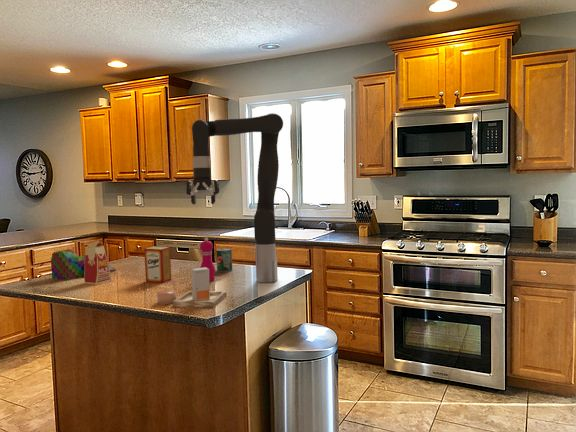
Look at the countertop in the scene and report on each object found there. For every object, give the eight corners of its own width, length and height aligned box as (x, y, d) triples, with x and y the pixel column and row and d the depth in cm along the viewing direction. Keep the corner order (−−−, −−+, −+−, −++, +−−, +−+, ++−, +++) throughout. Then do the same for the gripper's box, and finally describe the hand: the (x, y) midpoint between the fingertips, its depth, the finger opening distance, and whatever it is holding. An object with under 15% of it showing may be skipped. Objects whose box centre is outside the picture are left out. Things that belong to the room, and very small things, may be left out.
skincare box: (195, 301, 185) (194, 270, 184) (192, 299, 189) (190, 268, 188) (210, 299, 188) (209, 268, 187) (207, 296, 192) (205, 266, 191)
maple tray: (226, 296, 195) (226, 291, 195) (213, 307, 179) (213, 302, 179) (188, 295, 198) (188, 290, 198) (172, 306, 182) (172, 301, 182)
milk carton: (111, 280, 231) (109, 239, 229) (96, 285, 223) (94, 241, 221) (97, 279, 235) (95, 238, 233) (82, 283, 227) (79, 241, 225)
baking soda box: (171, 280, 229) (169, 246, 228) (163, 283, 223) (161, 248, 222) (154, 279, 233) (152, 245, 231) (146, 282, 226) (144, 247, 225)
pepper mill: (212, 282, 222) (210, 238, 221) (197, 281, 224) (195, 238, 222) (217, 278, 230) (216, 236, 228) (203, 278, 231) (201, 236, 229)
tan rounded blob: (178, 300, 192) (178, 290, 192) (171, 304, 185) (171, 294, 185) (162, 299, 193) (161, 289, 193) (154, 304, 186) (154, 294, 186)
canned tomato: (235, 269, 250) (234, 248, 249) (225, 272, 244) (224, 250, 243) (223, 268, 255) (222, 247, 254) (213, 271, 248) (212, 249, 247)
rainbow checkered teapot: (77, 281, 233) (75, 252, 232) (52, 279, 240) (50, 250, 239) (115, 271, 255) (114, 244, 254) (91, 269, 262) (90, 243, 261)
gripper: (220, 166, 214) (221, 203, 216) (189, 167, 217) (191, 203, 218) (214, 166, 207) (216, 204, 208) (183, 167, 209) (184, 205, 211)
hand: (203, 204), depth 213 cm, fingers open, 8 cm apart
